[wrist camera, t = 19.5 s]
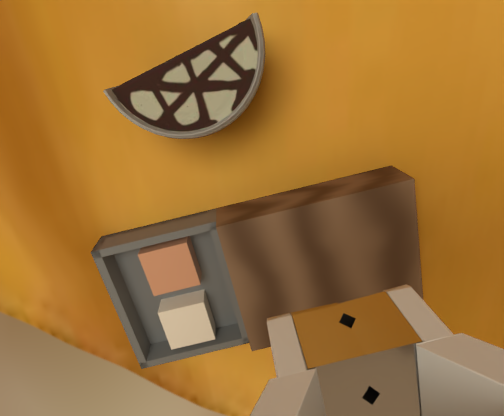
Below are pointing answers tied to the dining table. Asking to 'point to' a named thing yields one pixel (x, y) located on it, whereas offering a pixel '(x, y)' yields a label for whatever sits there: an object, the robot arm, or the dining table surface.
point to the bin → (147, 305)
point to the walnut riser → (320, 245)
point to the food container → (197, 85)
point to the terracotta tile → (170, 265)
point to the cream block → (187, 319)
